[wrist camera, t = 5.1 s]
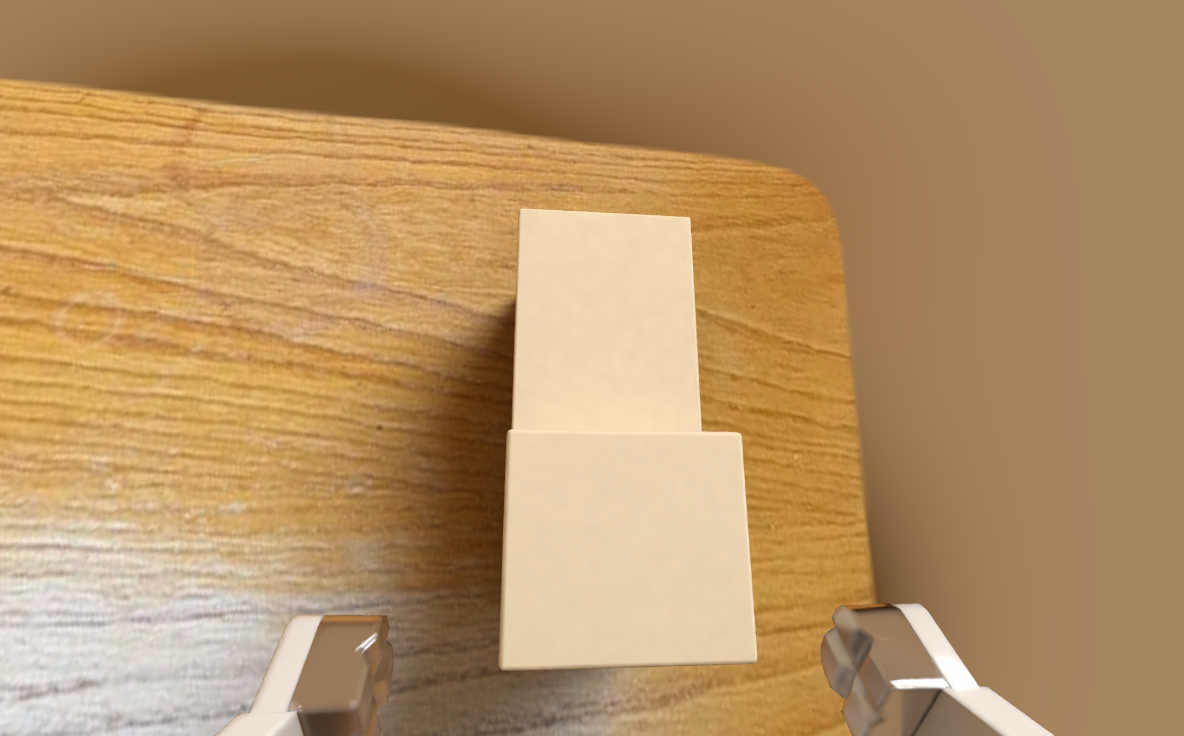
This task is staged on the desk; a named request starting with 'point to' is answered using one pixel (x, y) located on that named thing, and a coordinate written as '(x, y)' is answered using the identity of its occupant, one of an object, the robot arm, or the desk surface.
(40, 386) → the desk surface
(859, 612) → the robot arm
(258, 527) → the desk surface
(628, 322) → the stepped cream block
